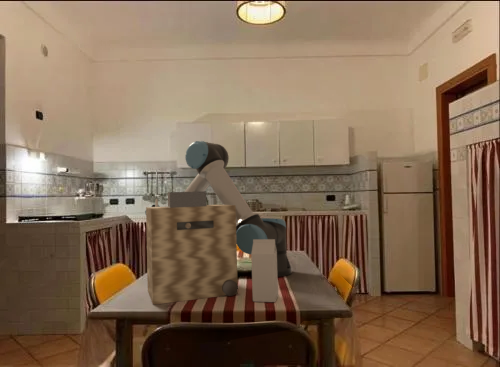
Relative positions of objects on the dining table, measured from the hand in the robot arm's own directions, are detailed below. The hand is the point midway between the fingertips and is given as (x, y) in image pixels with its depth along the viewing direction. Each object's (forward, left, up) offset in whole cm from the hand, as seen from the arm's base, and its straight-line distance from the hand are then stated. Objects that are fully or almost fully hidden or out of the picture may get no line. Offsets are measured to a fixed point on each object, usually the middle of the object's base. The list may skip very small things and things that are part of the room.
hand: (174, 201), depth 144 cm
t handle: (-1, +10, -2) cm, 10 cm away
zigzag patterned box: (-3, +17, -32) cm, 36 cm away
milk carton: (-23, +36, -32) cm, 53 cm away
